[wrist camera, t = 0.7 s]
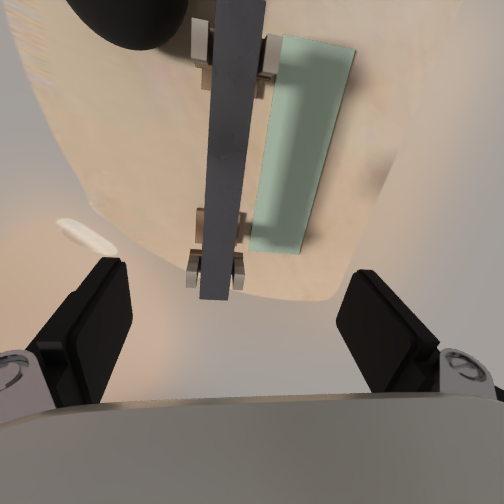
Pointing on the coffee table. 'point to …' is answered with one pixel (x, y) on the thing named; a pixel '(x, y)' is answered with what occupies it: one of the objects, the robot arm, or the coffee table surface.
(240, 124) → the rail
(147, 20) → the decorative ball
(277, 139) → the mat
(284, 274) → the coffee table surface
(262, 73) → the rack
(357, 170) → the coffee table surface
